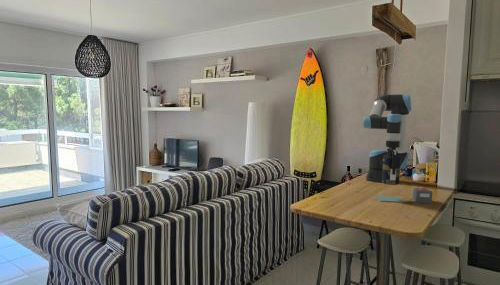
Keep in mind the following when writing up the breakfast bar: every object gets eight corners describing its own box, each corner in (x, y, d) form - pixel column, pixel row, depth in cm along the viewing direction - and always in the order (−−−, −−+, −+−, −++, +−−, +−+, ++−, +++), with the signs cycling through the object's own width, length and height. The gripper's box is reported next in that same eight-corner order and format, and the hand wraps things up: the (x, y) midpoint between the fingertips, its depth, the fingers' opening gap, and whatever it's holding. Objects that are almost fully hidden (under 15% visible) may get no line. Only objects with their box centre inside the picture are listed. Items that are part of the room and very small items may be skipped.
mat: (375, 196, 208) (375, 195, 208) (398, 197, 206) (398, 196, 206) (380, 201, 197) (380, 200, 197) (403, 202, 195) (403, 201, 194)
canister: (400, 186, 195) (402, 155, 193) (383, 185, 197) (385, 154, 195) (397, 183, 204) (398, 153, 203) (380, 182, 206) (382, 152, 204)
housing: (412, 199, 203) (413, 187, 203) (426, 199, 202) (427, 188, 201) (416, 202, 195) (417, 190, 194) (431, 203, 194) (432, 191, 193)
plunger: (417, 198, 201) (418, 186, 200) (424, 198, 200) (424, 187, 199) (419, 200, 197) (420, 188, 196) (426, 200, 196) (427, 188, 196)
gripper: (381, 138, 210) (379, 174, 212) (390, 141, 188) (388, 181, 190) (394, 139, 208) (392, 175, 210) (405, 142, 187) (402, 182, 189)
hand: (390, 178), depth 200 cm, fingers closed on canister, 9 cm apart
